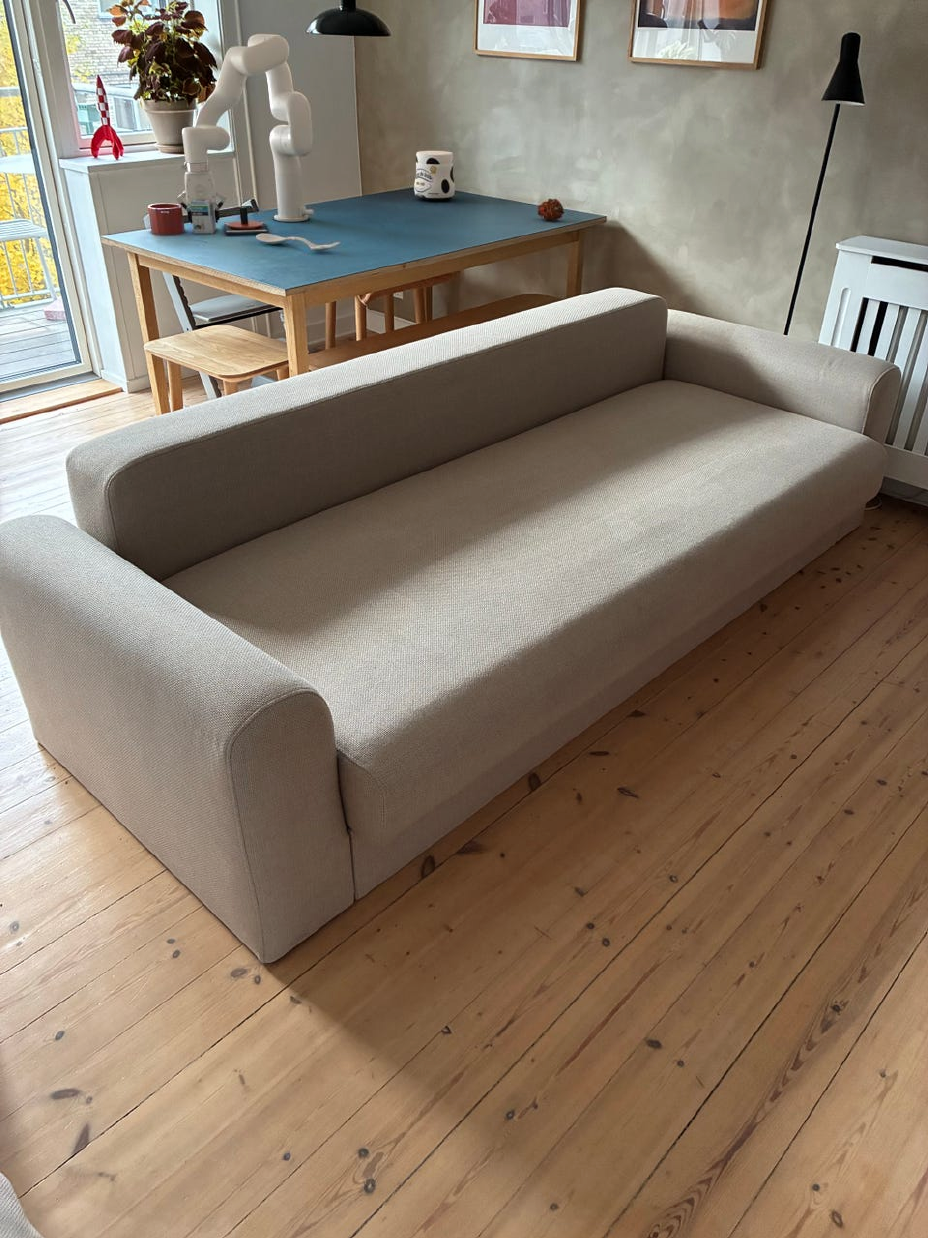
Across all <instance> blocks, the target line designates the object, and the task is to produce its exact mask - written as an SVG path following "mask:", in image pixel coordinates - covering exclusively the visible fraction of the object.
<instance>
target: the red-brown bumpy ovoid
mask: <svg viewBox="0 0 928 1238" xmlns="http://www.w3.org/2000/svg"><path fill="white" fill-rule="evenodd" d="M536 212H537V215H538V216H540V218H543V220H544V221H545V222H548V221H550V222H556V221H557V220H558V219H561V218H562V217H563V215H564V214H565V211H564V206H563V204H562V203H561V202H560V201H559V200H558V199H557V198H553V199H552V198H548V199H547V200H546V201H543V202H542V203H541V204H539V205H538V207H537V211H536Z"/></svg>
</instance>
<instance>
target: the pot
mask: <svg viewBox="0 0 928 1238" xmlns="http://www.w3.org/2000/svg"><path fill="white" fill-rule="evenodd" d="M147 211H148V218H149V224H150V232H151V234H153V235H156V236H177V235H181V234H184V233H185V232H186V230H185V229H186V228H185V221H184V215H183V214H184V213H183V207H182V206H181V205H180V203H169V202H167V203H165V202H164V203H153V204H149V205H148V206H147Z"/></svg>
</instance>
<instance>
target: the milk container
mask: <svg viewBox="0 0 928 1238" xmlns="http://www.w3.org/2000/svg"><path fill="white" fill-rule="evenodd" d="M413 191H414V195H415V197H416V198H417V199H419V200H423V201H433V202H434V201H436V202H437V201H439V202H440V201H447V200H450V199H452V198H453V197H455V192H456V183H455V179H454V153H453V152H451V151H445V150H420V151H416V154H415V179H414V184H413Z"/></svg>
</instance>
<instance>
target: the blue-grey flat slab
mask: <svg viewBox="0 0 928 1238" xmlns="http://www.w3.org/2000/svg"><path fill="white" fill-rule="evenodd" d="M259 222H260V223H262V226H261V227H257V228H255V229H246V230H242V229H234V228H231V227H228V226H227V224H228V223H229V222H223V227H224V230H225V235H226V236H227V237H241V236H242V237H243V236H257V235H259V234H269V233H268V229H267V227H266V225H265V222H264V221H259Z"/></svg>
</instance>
